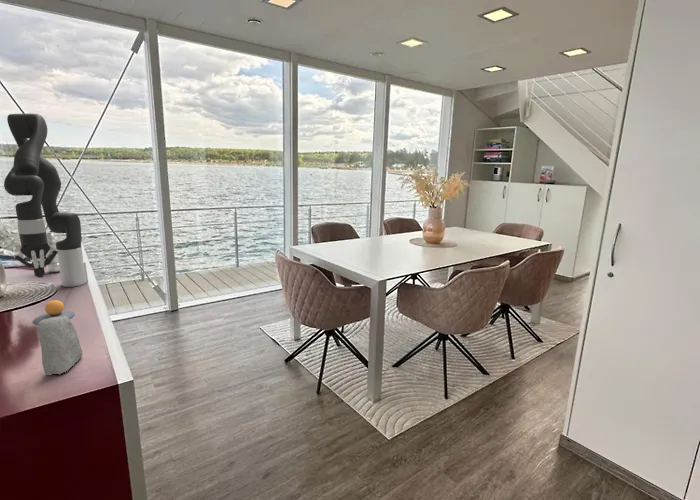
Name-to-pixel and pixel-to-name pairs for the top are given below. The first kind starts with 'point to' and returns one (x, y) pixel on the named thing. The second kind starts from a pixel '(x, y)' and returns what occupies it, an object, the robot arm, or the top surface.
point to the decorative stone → (58, 344)
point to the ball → (54, 307)
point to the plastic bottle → (54, 263)
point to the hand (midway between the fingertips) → (40, 277)
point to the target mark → (46, 316)
